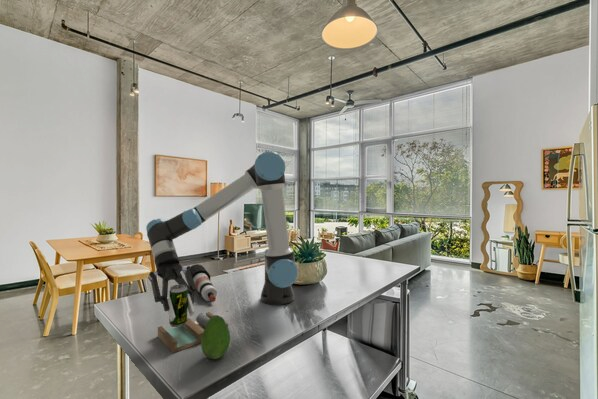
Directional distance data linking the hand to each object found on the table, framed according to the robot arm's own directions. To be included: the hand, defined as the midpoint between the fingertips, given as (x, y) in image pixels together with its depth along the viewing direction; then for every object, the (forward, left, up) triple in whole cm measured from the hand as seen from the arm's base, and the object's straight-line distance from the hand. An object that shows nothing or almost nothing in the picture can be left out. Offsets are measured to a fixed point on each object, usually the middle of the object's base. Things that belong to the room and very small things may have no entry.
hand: (182, 316), depth 86 cm
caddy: (0, -6, -9) cm, 10 cm away
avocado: (-13, +6, -9) cm, 17 cm away
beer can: (+3, -2, -4) cm, 5 cm away
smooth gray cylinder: (-3, -9, -7) cm, 12 cm away
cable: (+14, -45, -9) cm, 48 cm away
